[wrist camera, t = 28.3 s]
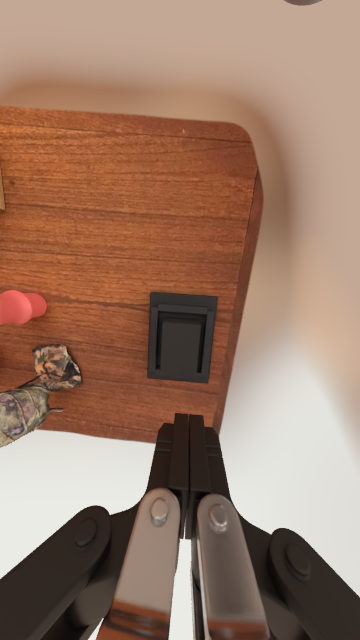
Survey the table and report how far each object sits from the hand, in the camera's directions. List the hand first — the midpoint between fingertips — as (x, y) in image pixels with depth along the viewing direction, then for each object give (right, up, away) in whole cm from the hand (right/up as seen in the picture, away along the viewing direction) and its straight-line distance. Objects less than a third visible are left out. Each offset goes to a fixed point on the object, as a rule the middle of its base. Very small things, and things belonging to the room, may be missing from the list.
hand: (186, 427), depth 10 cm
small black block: (0, +3, +18) cm, 18 cm away
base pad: (0, +3, +19) cm, 19 cm away
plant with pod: (-21, -3, +22) cm, 30 cm away
